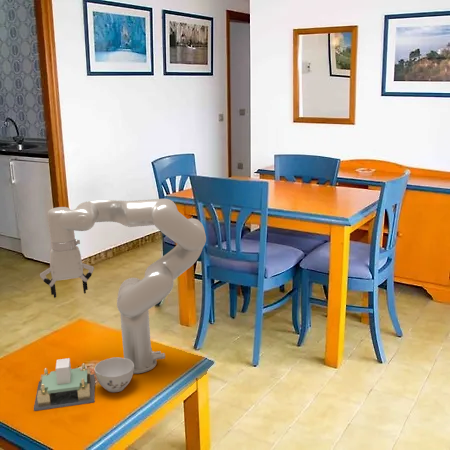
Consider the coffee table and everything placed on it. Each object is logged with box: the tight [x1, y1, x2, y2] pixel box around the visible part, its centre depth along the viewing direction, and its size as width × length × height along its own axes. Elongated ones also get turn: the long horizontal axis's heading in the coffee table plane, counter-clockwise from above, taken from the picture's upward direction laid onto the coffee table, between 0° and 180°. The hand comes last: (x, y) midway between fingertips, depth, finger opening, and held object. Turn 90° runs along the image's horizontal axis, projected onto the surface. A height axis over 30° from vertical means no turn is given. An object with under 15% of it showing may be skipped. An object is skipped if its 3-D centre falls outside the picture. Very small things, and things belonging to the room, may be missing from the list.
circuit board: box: [41, 357, 87, 394], centre depth 179 cm, size 14×12×6 cm
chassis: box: [33, 362, 96, 412], centre depth 180 cm, size 18×16×7 cm
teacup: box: [93, 357, 134, 393], centre depth 183 cm, size 15×12×8 cm
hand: (70, 294), depth 188 cm, fingers open, 9 cm apart
